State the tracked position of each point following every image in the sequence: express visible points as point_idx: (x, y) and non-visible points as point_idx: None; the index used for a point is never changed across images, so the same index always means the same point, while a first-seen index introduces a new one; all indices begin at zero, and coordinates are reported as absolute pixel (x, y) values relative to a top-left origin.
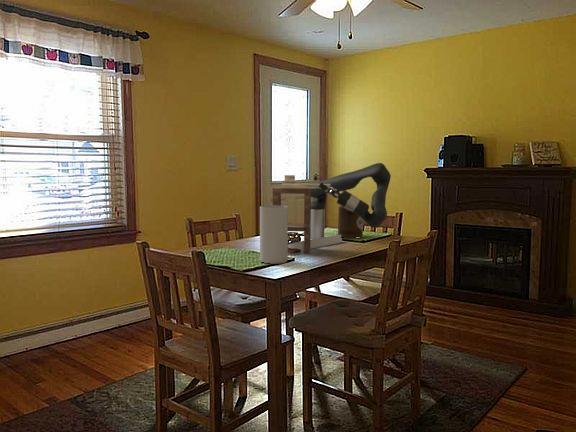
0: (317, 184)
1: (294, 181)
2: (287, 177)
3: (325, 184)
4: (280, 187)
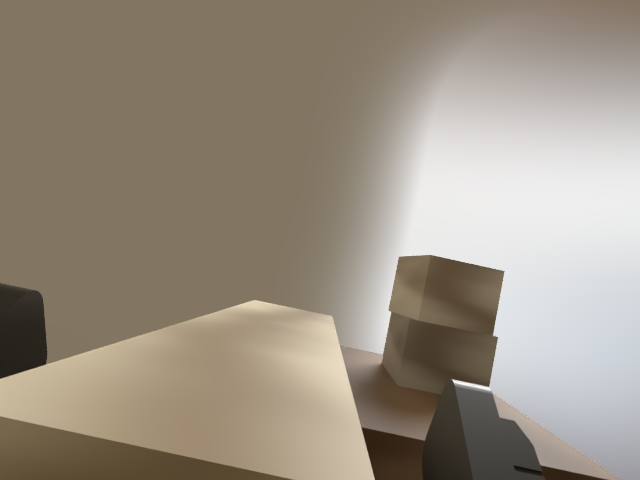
0: (146, 337)
1: (409, 319)
2: (401, 275)
3: (55, 366)
4: (343, 352)
